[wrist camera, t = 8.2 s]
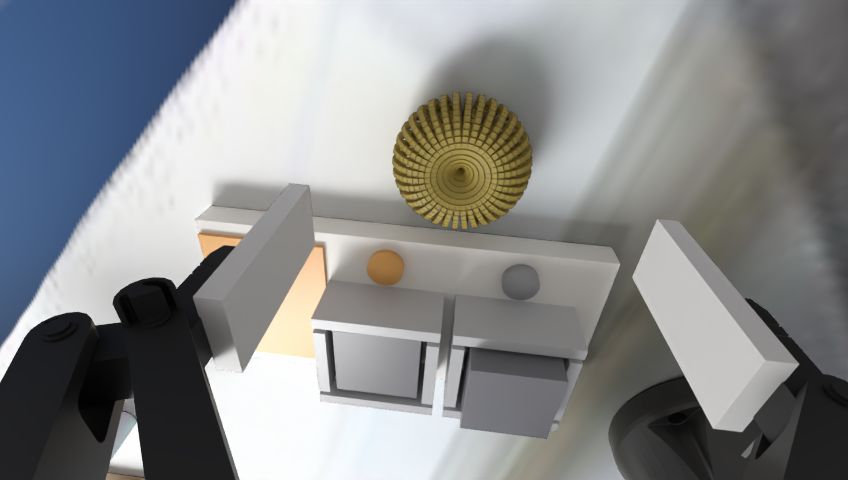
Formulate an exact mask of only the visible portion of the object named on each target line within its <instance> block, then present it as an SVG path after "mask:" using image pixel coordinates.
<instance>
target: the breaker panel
mask: <svg viewBox="0 0 848 480" xmlns="http://www.w3.org/2000/svg"><path fill="white" fill-rule="evenodd" d="M265 212H266V211H257V210H247V209H237V208H228V207H218V206H210V207H209V208H208V209H207V210H206V211H205V212H203V213H202V214H201V215H200V216H199V217H198V218H196V219H195V220H196V224H197V228H198V231H199V234H198V238H199V241H200V245H201V248H202V252H203V256H204V259H205V258H206V257H207V256H208V255H209V254H210V253H211V252H213V251H215V250H216V249H218V248H220V247H222V246H223V245H228V246H237V245H238V243H239V242H240V241H241V240H242V239H243V238H244V236H245V235H246V234H247V233H248V232H249V231H250V229H251V228H252V227H253V226H254V225H255V224H256V222H257V221H258V220H259V219H260V218H261V217H262V215H263V214H264V213H265ZM313 226H314V236H315V246H314V248H313V250H312V252H311V253H310V255H309V257H308V259H307V260H306V262H305V264H304V266H303V267H302V269H301V271H300V273H299V275H298V276H297V278H296V280H295V282H294V283H293V285H292V287H291V289H290V290H289V292H288V294H287V296H286V297H285V299H284V301H283V303H282V304H281V306H280V308H279V310H278V312H277V313H276V315H275V317H274V319H273V320H272V322H271V324H270V326H269V327H268V329H267V331H266V333H265V334H264V336H263V338H262V340H261V341H260V343H259V345H258V347H257V348H256V350H255V352H254V354H253V357H261V358H270V359H278V360H286V361H294V362H303V363H311V364H316V367H317V376H318V384H319V391H321V392H320V401H322V402H330V403H338V404H346V405H354V406H362V407H370V408H378V409H386V410H394V411H401V412H409V413H417V414H425V415H432V405H433V397H434V389H435V380H436V379H443V380H445V385H444V400H443V415H442V417H449V418H457V419H461V384H462V378H463V372H464V366H465V360H466V354H467V349H468V347H477V348H485V349H494V350H502V351H511V352H520V353H528V354H537V355H545V356H554V357H562V358H563V362H564V366H565V370H566V374H567V378H568V385H567V387H566V390H565V392H564V395H563V398H562V400H561V403H560V405H559V408H558V411H557V413H556V416H555V419H554V421H553V424H552V426H551V429H550V430H553V431H557V429H558V426H559V421H561V419H562V416H563V414H564V411H565V409H566V406H567V404H568V401H569V399H570V396H571V394H572V391H573V389H574V386H575V384H576V381H577V379H578V376H579V374H580V371H581V369H582V366H583V362H582V361H583V360H585V359H586V356H587V354H588V346H589V343H590V341H591V338H592V335H593V333H594V330H595V328H596V325H597V323H598V320H599V318H600V315H601V313H602V310H603V308H604V305H605V302H606V300H607V297H608V295H609V292H610V290H611V287H612V285H613V282H614V280H615V277H616V274H617V272H618V269H619V267H620V262H619V260H618V258H617V257H616V255H615V253H614V251H613V249H612V247H606V246H596V245H586V244H577V243H567V242H557V241H548V240H538V239H528V238H518V237H509V236H499V235H489V234H480V233H470V232H460V231H451V230H441V229H431V228H422V227H412V226H402V225H392V224H383V223H373V222H363V221H354V220H344V219H334V218H325V217H315V216H313ZM332 331H340V332H348V333H357V334H366V335H374V336H383V337H391V338H400V339H408V340H417V341H423V348H422V360H421V368H420V375H419V383H418V390H417V398H408V397H400V396H392V395H384V394H376V393H368V392H360V391H352V390H344V389H337V382H336V369H335V357H334V345H333V332H332Z"/></svg>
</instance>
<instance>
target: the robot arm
mask: <svg viewBox="0 0 848 480" xmlns="http://www.w3.org/2000/svg"><path fill="white" fill-rule="evenodd" d="M314 246H315V236H314V226H313V216H312V207H311V197H310V187H309V185H300V184H289V185H288V186H287V187H286V188H285V190H284V191H283V192H282V193H281V194H280V196H279V197H278V198H277V199H276V200H275V201H274V203H273V204H272V205H271V206H270V207H269V208H268V210H267V211H266V212H265V213H264V214H263V215H262V217H261V218H260V219H259V220H258V221H257V222H256V224H255V225H254V226H253V227H252V228H251V229H250V231H249V232H248V233H247V234H246V235H245V236H244V238H243V239H242V240H241V241H240V242H239V243H238V245H237V246H228V245H223V246H222V247H220V248H218V249H216V250H215V251H213V252H211V253H210V254H209V255H208V256H207V257H206V258H205V259H204V260H203V261H202V262H201V263H200V266H198V267H197V268H196V269H195V270H194V271H193V273H192V274H190V275H189V276H188V277H187V278H186V279H185V281H184V282H183V283H182V284H181V285H180V286H179V287H178V288H177V289H176V287H175V285H174V283H173V282H172V281H171V280H168V279H166V278H155V277H153V278H148V279H142V280H139V281H137V282H134V283H131V284H129V285H128V286H126V287H124V288H123V289H121V290H120V291H119V292H118V293H117V294H116V296H115V297H114V300H113V306H114V308H115V310H116V312H117V314H118V316H119V318H120V320H121V323H113V324H105V325H96V326H95V324H94V322H93V321H92V319H91V318H90V317H89V316H88V315H87V314H85V313H80V312H72V313H65V314H61V315H57V316H54V317H52V318H49V319H47V320H45V321H43V322H41V323H40V324H38V325H37V326H35V327H34V328H33V329H31V330H30V332H29V333H28V334H27V335H26V336H25V338H24V340H23V342H22V343H21V345H20V347H19V349H18V351H17V353H16V354H15V356H14V358H13V360H12V362H11V364H10V366H9V367H8V369H7V371H6V373H5V375H4V377H3V378H2V380H1V382H0V480H106V476H107V472H108V468H109V464H110V459H111V455H112V451H113V447H114V443H115V439H116V434H117V430H118V426H119V422H120V418H121V414H122V409H123V405H124V401H125V399H130V398H134V403H135V410H136V417H137V425H138V432H139V439H140V447H141V454H142V461H143V469H144V476H145V480H239V477H238V473H237V470H236V467H235V464H234V461H233V457H232V454H231V451H230V448H229V445H228V441H227V438H226V435H225V432H224V429H223V425H222V422H221V419H220V416H219V413H218V409H217V406H216V403H215V400H214V397H213V393H212V390H211V387H210V384H209V381H208V377H207V374H206V371H205V369H204V368H205V366H206V365H207V363H208V362H209V360H210V359H211V357H213V360H214V363H215V366H216V369H217V370H222V371H231V372H239V373H243V371H244V370H245V368H246V366H247V364H248V363H249V361H250V359H251V357H252V356H253V354H254V352H255V350H256V348H257V347H258V345H259V343H260V341H261V340H262V338H263V336H264V334H265V333H266V331H267V329H268V327H269V326H270V324H271V322H272V320H273V319H274V317H275V315H276V313H277V312H278V310H279V308H280V306H281V304H282V303H283V301H284V299H285V297H286V296H287V294H288V292H289V290H290V289H291V287H292V285H293V283H294V282H295V280H296V278H297V276H298V275H299V273H300V271H301V269H302V267H303V266H304V264H305V262H306V260H307V259H308V257H309V255H310V253H311V252H312V250H313V248H314ZM632 278H633V280H634V282H635V284H636V286H637V287H638V289H639V291H640V293H641V295H642V297H643V299H644V301H645V302H646V304H647V306H648V308H649V310H650V312H651V314H652V315H653V317H654V319H655V321H656V323H657V325H658V327H659V329H660V330H661V332H662V334H663V336H664V338H665V340H666V342H667V344H668V345H669V347H670V349H671V351H672V353H673V355H674V357H675V358H676V360H677V362H678V364H679V366H680V368H681V370H682V372H683V373H684V375H685V377H686V378H681V379H677V380H673V381H670V382H667V383H664V384H661V385H658V386H656V387H653V388H651V389H649V390H647V391H645V392H643V393H641V394H639V395H638V396H636V397H635V398H633V399H632V400H630V401H629V402H628V403H627V404H625V405H624V406H623V407H622V408H621V409H620V410H619V412H618V413H617V414H616V415H615V417H614V418H613V420H612V422H611V425H610V428H609V442H610V446H611V449H612V452H613V456H614V459H615V462H616V465H617V467H618V469H619V471H620V473H621V474H622V476H623V477H624V479H625V480H848V382H846V381H844V380H842V379H839V378H837V377H834V376H831V375H826V374H823V373H822V372H821V371H820V370H819V369H818V368H817V367H816V366H815V364H814V363H813V362H812V361H811V360H810V359H809V358H808V356H807V355H806V354H805V353H804V352H803V351H802V350H801V349H800V347H799V346H798V345H797V344H796V343H795V342H794V341H793V339H792V338H789V337H788V334H787V333H786V332H785V330H784V329H783V328H782V327H779V324H778V322H777V321H776V320H775V319H774V318H773V317H772V316H771V315H770V313H769V312H768V311H767V310H765V309H764V308H762V307H761V306H760V305H758V304H757V303H755V302H754V301H753V300H751V299H746V298H743V297H742V296H741V295H740V293H739V292H738V291H737V290H736V289H735V287H734V286H733V285H732V284H731V283H730V281H729V280H728V279H727V278H726V277H725V276H724V274H723V273H722V272H721V271H720V270H719V268H718V267H717V266H716V265H715V264H714V263H713V261H712V260H711V259H710V258H709V257H708V255H707V254H706V253H705V252H704V251H703V250H702V248H701V247H700V246H699V245H698V244H697V242H696V241H695V240H694V239H693V238H692V236H691V235H690V234H689V233H688V232H687V231H686V229H685V228H684V227H683V226H682V225H681V223H680V222H679V221H672V220H662V219H657V221H656V223H655V226H654V228H653V230H652V233H651V235H650V237H649V240H648V242H647V244H646V247H645V249H644V251H643V254H642V256H641V258H640V260H639V263H638V265H637V267H636V270H635V272H634V274H633V277H632Z"/></svg>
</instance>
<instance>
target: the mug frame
mask: <svg viewBox="0 0 848 480" xmlns="http://www.w3.org/2000/svg"><path fill="white" fill-rule="evenodd" d="M106 480H145V478H141V477H133V476H126V475H119V474H112V473H107V476H106Z"/></svg>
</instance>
